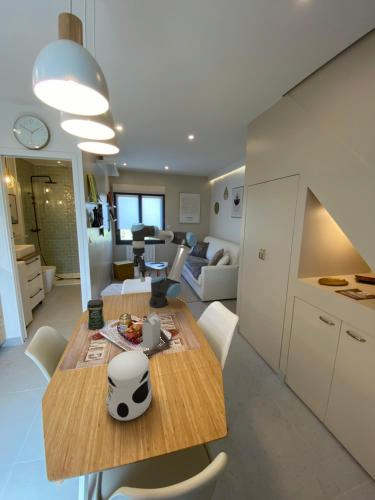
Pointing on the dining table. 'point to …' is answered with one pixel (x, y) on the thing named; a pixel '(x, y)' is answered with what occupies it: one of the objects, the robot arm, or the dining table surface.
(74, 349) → the dining table surface
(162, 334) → the bay
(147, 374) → the milk container
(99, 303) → the coffee jar
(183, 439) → the dining table surface
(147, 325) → the milk carton
